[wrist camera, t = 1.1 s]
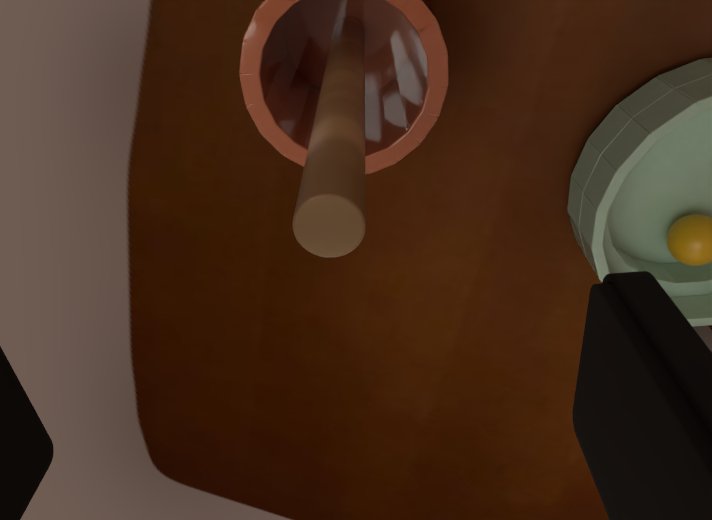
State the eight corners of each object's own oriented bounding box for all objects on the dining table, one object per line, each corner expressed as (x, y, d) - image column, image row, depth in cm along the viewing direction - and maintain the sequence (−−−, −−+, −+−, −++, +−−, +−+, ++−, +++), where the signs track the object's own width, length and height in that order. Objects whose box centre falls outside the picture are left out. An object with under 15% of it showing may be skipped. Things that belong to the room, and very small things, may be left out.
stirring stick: (331, 18, 29) (286, 197, 12) (363, 15, 29) (362, 191, 12) (335, 51, 30) (298, 261, 13) (366, 48, 30) (368, 255, 13)
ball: (662, 207, 34) (686, 232, 32) (714, 203, 34) (742, 228, 32) (653, 250, 36) (675, 277, 34) (703, 246, 36) (729, 273, 33)
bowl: (578, 66, 31) (612, 94, 27) (860, 39, 30) (942, 64, 26) (555, 285, 38) (579, 334, 34) (779, 269, 37) (832, 317, 33)
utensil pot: (257, -48, 28) (218, -24, 20) (424, -66, 28) (447, -49, 20) (284, 114, 32) (261, 183, 25) (429, 101, 32) (450, 167, 24)
